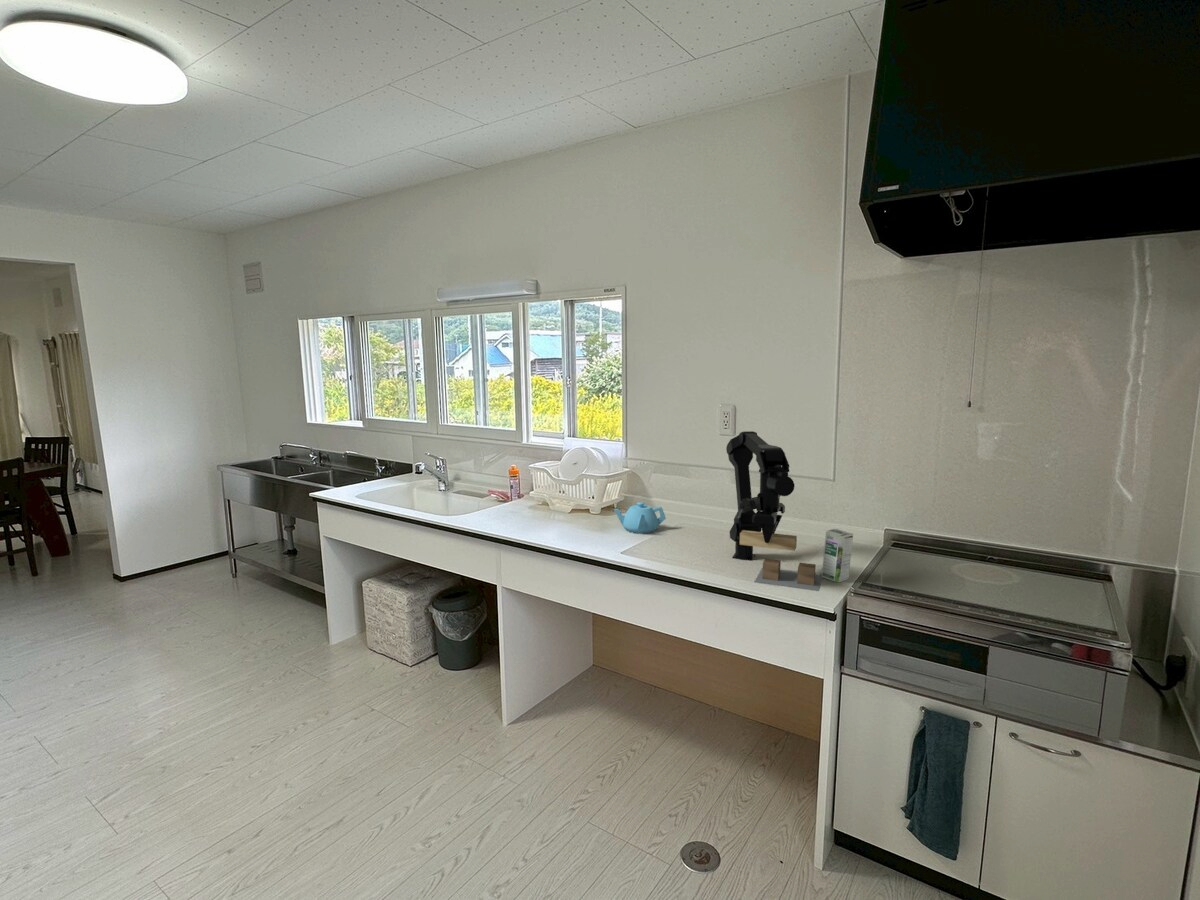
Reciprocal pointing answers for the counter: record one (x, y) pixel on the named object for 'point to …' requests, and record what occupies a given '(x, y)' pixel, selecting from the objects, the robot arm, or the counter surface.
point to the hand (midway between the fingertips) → (768, 540)
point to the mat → (790, 580)
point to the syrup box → (837, 555)
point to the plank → (775, 542)
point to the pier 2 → (806, 574)
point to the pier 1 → (771, 569)
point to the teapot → (641, 518)
